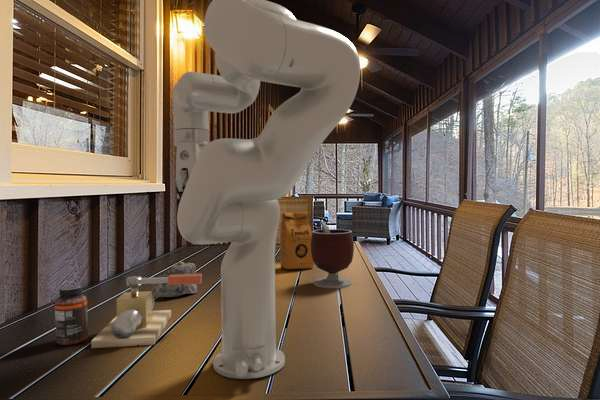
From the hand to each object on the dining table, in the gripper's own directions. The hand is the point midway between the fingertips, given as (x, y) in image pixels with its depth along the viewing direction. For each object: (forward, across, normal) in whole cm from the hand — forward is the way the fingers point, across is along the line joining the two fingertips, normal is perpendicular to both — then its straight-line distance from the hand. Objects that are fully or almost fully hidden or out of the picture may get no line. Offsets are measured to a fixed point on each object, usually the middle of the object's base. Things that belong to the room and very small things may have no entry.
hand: (194, 216), depth 93 cm
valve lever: (+15, 0, +7) cm, 17 cm away
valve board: (+25, -1, +14) cm, 28 cm away
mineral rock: (+25, +29, +16) cm, 41 cm away
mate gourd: (+25, +46, -29) cm, 60 cm away
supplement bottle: (+25, -8, +24) cm, 36 cm away
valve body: (+23, -1, +14) cm, 27 cm away
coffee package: (+24, +71, -15) cm, 76 cm away
